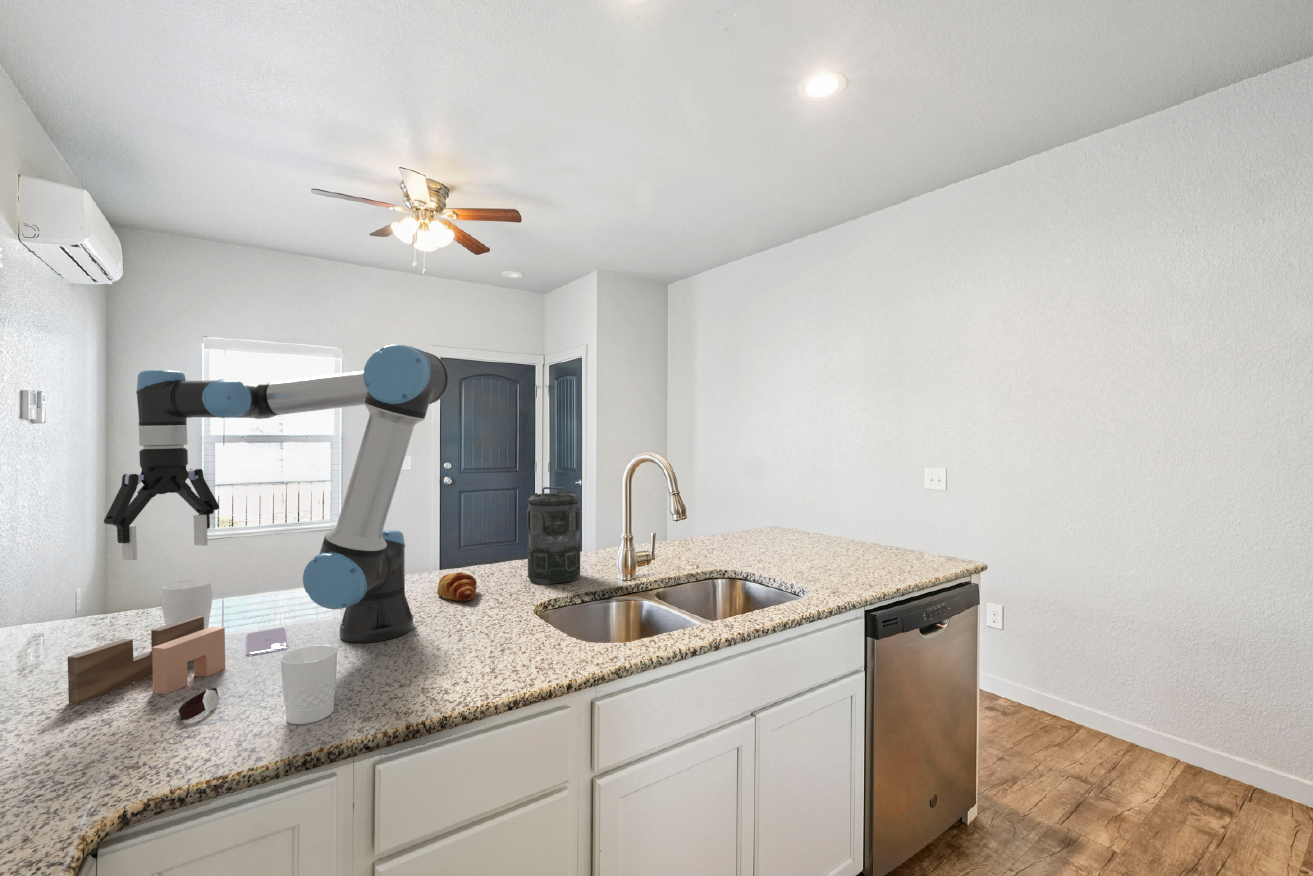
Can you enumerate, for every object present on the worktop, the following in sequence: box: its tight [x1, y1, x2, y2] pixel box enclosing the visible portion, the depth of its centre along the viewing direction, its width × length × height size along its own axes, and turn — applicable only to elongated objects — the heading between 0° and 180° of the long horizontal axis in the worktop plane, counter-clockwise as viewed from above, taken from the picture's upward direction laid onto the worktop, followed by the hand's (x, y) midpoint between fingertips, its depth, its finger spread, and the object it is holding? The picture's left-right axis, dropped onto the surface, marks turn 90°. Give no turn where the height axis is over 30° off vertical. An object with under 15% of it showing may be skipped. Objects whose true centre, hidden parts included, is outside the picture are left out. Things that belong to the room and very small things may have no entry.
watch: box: [177, 687, 220, 721], centre depth 97 cm, size 8×5×4 cm, turn 12°
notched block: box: [151, 626, 226, 695], centre depth 109 cm, size 11×3×8 cm, turn 167°
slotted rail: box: [67, 616, 204, 706], centre depth 110 cm, size 2×22×8 cm, turn 167°
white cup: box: [280, 644, 338, 725], centre depth 96 cm, size 8×8×10 cm
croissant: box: [437, 571, 478, 602], centre depth 163 cm, size 21×10×8 cm, turn 36°
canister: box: [526, 486, 581, 586], centre depth 180 cm, size 16×16×28 cm
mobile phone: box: [245, 627, 290, 656], centre depth 128 cm, size 8×1×15 cm
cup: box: [160, 578, 214, 629], centre depth 131 cm, size 9×9×12 cm
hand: (167, 552), depth 120 cm, fingers open, 13 cm apart
